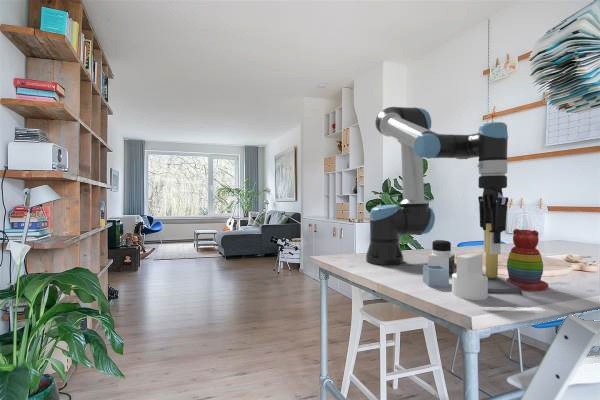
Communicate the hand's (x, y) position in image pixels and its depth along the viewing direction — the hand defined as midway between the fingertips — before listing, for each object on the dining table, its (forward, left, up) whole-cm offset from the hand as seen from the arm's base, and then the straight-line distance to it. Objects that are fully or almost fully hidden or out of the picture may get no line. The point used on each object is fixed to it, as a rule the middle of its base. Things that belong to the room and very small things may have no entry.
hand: (491, 252), depth 105 cm
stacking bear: (-2, +11, -11) cm, 16 cm away
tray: (0, 0, -11) cm, 11 cm away
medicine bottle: (-17, -9, -11) cm, 22 cm away
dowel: (0, 0, -7) cm, 7 cm away
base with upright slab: (+9, -10, -11) cm, 17 cm away
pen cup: (-2, -16, -11) cm, 20 cm away
